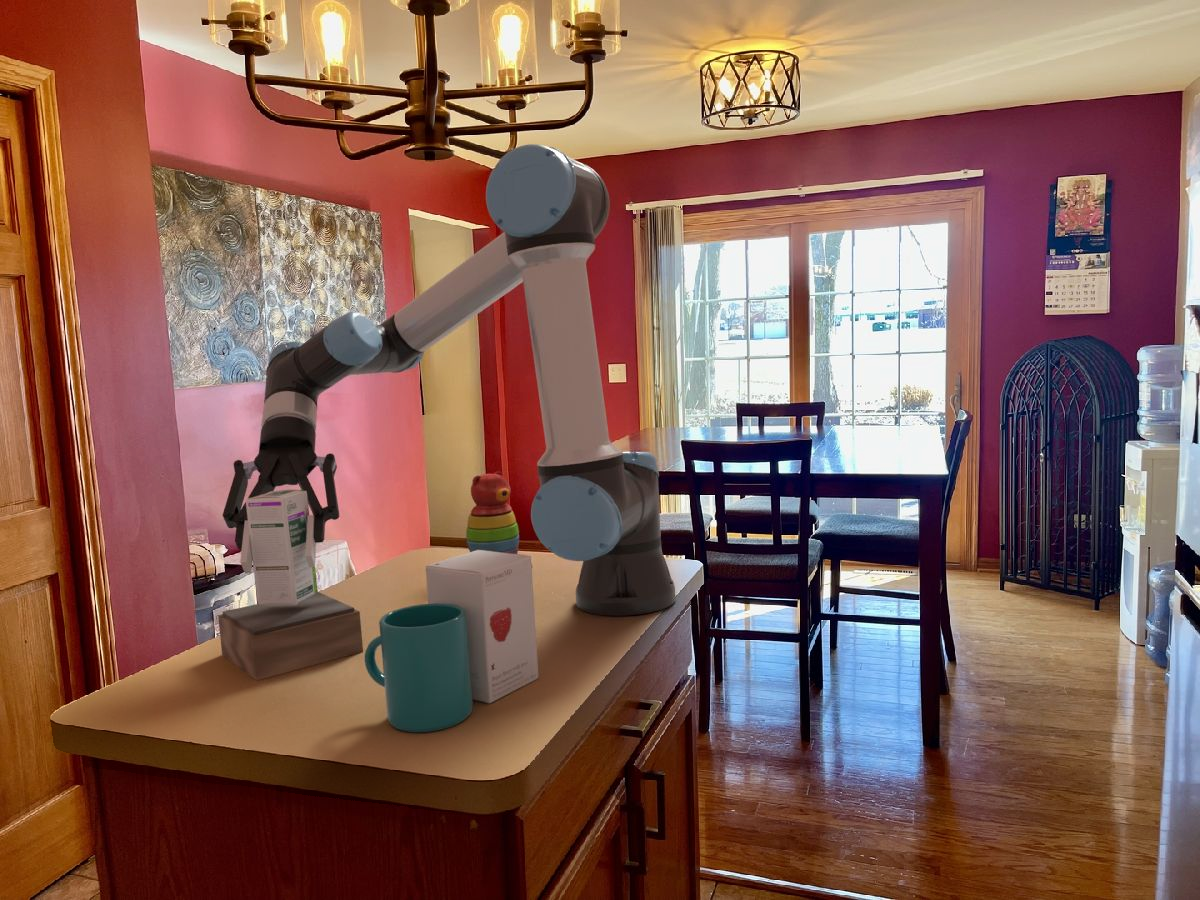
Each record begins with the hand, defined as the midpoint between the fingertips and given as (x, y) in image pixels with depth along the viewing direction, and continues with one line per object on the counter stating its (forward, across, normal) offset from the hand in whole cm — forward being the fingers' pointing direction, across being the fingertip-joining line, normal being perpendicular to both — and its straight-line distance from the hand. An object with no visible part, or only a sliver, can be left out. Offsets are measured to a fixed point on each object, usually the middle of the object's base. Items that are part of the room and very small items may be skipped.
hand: (278, 564), depth 113 cm
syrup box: (+2, 0, -7) cm, 7 cm away
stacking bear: (-18, -29, -37) cm, 50 cm away
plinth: (+7, 0, -12) cm, 13 cm away
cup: (+26, -18, +7) cm, 32 cm away
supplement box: (+21, -25, +2) cm, 33 cm away
